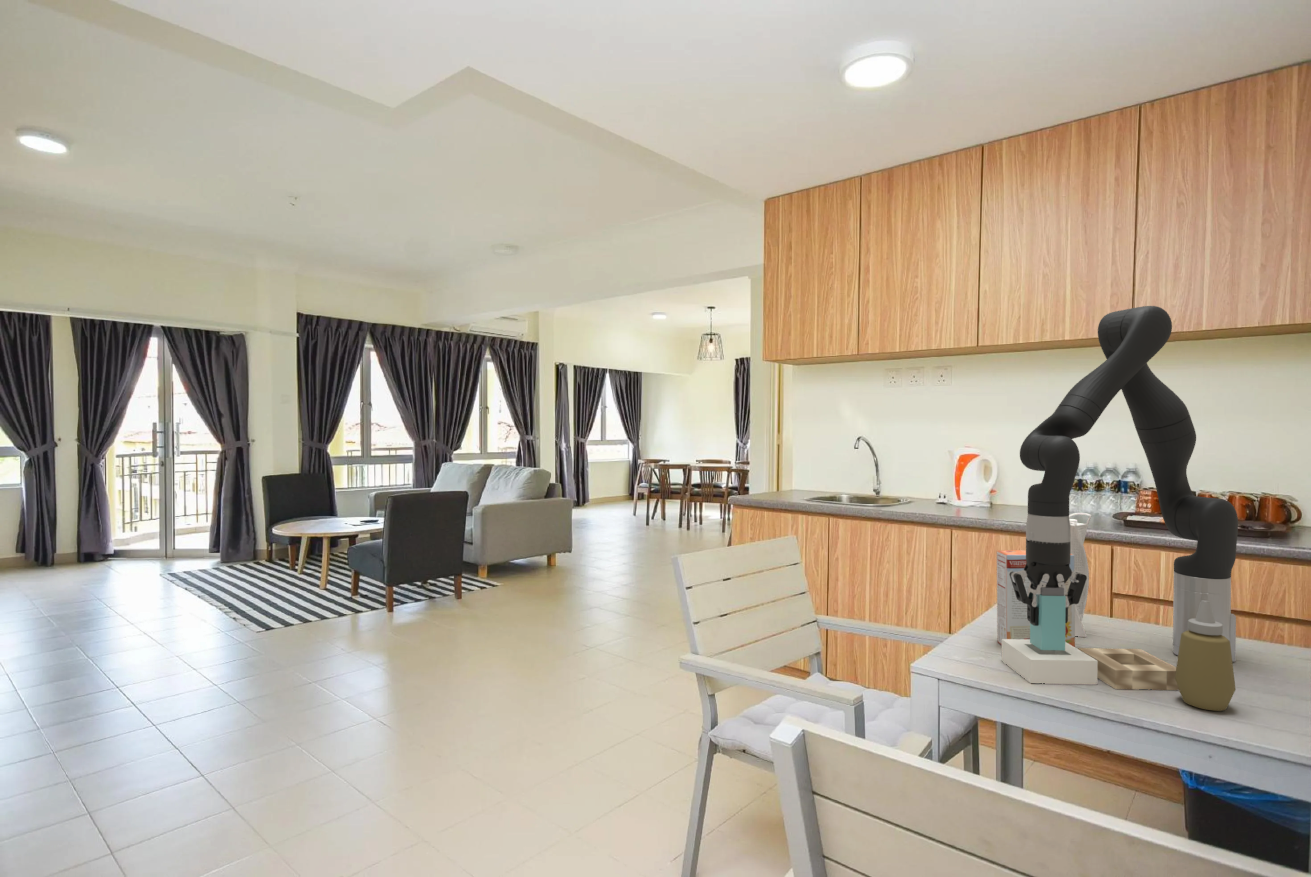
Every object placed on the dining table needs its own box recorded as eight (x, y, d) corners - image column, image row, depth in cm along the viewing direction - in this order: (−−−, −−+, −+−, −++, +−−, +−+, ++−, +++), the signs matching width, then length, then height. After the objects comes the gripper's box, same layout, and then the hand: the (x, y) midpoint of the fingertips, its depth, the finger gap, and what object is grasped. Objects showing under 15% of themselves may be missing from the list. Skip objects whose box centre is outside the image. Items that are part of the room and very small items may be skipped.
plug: (1052, 643, 132) (1053, 583, 132) (1065, 650, 128) (1065, 588, 128) (1030, 642, 133) (1030, 582, 132) (1041, 650, 128) (1042, 588, 128)
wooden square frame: (1139, 666, 133) (1140, 648, 133) (1183, 690, 121) (1183, 671, 121) (1077, 665, 134) (1077, 648, 134) (1115, 689, 122) (1115, 670, 122)
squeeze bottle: (1162, 696, 119) (1163, 595, 118) (1204, 694, 119) (1205, 594, 119) (1203, 716, 111) (1205, 608, 110) (1248, 713, 111) (1249, 606, 111)
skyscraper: (1083, 629, 157) (1084, 511, 156) (1096, 639, 150) (1097, 515, 149) (1046, 627, 159) (1046, 510, 158) (1057, 637, 152) (1058, 514, 151)
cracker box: (1061, 643, 147) (1062, 549, 147) (1075, 652, 141) (1076, 554, 141) (995, 641, 149) (995, 548, 148) (1006, 650, 143) (1007, 553, 142)
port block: (1061, 661, 136) (1062, 638, 136) (1097, 684, 124) (1097, 659, 124) (1001, 660, 137) (1001, 637, 137) (1030, 683, 125) (1031, 658, 125)
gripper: (1074, 534, 133) (1074, 619, 134) (1001, 534, 134) (1000, 618, 134) (1097, 541, 126) (1096, 631, 126) (1019, 540, 127) (1018, 630, 127)
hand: (1047, 624), depth 130 cm, fingers closed on plug, 4 cm apart
